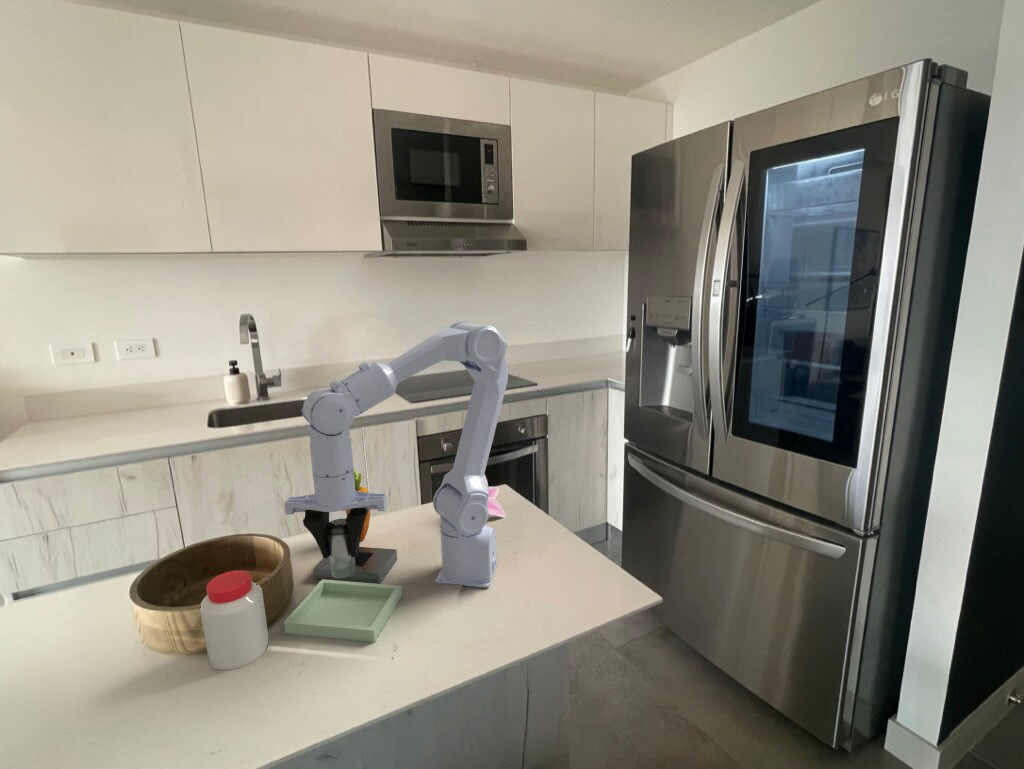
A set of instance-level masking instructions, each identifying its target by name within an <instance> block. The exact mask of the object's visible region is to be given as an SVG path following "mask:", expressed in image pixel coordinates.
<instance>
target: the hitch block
mask: <svg viewBox="0 0 1024 769" xmlns="http://www.w3.org/2000/svg"><path fill="white" fill-rule="evenodd" d="M397 551H398V550H397V549H396V548H381V547H367V546H359V552H358V554H357V556H356V557H355V566H356V571H355V573H354V574H353V575H351V576H349V577H346V578H334V577H333V576H332V575H331V565H330V555H329V557H328V558H323V557H322V558H321V560H320V561H319V562H318V563H317V564H316V565H315V566H314V567H313V568H312V570H313V580H314V581H321V580H322V579H324V580H336V581H349V582H361V583H373V584H383V581H385V578H386V577H387V576H388V574H389V573H390V571H391V570H392V568H393V567H394V566H395V564H396V562H397V561H398V552H397Z"/></svg>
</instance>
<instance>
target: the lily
mask: <svg viewBox="0 0 1024 769" xmlns="http://www.w3.org/2000/svg"><path fill="white" fill-rule="evenodd" d="M484 481H485V484H486V487H487V489H488V493H489V496H488V501H487V506H488V513H489V514H490V515H493V516H496V517H500V518H506V517H507V514H506V512H505V511H504V508H503V507H502V505H501V504H500V503H499V501H498V500H496V497H497V496H498V494H499V492H500V487H498V486H489V484H488V479H487V476H486V474H485V473H484ZM489 514H488V515H489Z"/></svg>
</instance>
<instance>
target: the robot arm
mask: <svg viewBox="0 0 1024 769" xmlns="http://www.w3.org/2000/svg"><path fill="white" fill-rule="evenodd" d="M507 349H508V343H507V341H506V340H505V339H504V337H503V336H502V333H501V332H500V331H499V330H498V329H497V328H495V327H494V326H493V325H487V324H484V325H483V324H482V325H480V324H474V323H469V322H467V321H458V322H457V321H456V322H455V323H453V324H451V325H450V326H447V327H445V328H441V329H439V330H438V331H437V332H435V333H434V334H433V335H431V336H430V337H429V338H427V339H425V340H423V341H422V342H420V343H419V344H417V345H416V346H414V347H412V348H410V349H409V350H407V351H405V352H404V353H402V354H401V355H399V356H398V357H396V358H394V359H393V360H391V361H389V362H388V363H387V364H384V363H383V364H382V363H379V362H376V361H373V362H371V363H370V364H369V363H368V362H363V363H361V364H359V365H357V367H358V370H357V371H355V372H353V373H351V374H350V375H347V376H345V377H344V378H343V379H341V380H339V381H337V380H336V379H334V380H332V381H331V382H329V386H330V388H327V387H326V388H323V387H322V388H318V389H315V390H313V391H311V392H310V393H309V394H308V395H307V396H306V397H307V398H306V399H304V402H303V406H302V408H301V409H300V410H301V415H302V416H303V419H305V421H307V423H309V425H308V436H309V452H310V459H311V461H310V462H311V470H312V479H313V487H314V493H313V494H311V493H310V494H307V495H301V496H299V495H298V496H291V497H290V496H289V497H287V499H286V500H285V501H284V511H285V512H284V513H285V515H286V516H288V515H289V516H291V515H294V514H295V513H304V518H303V520H302V523H303V526H304V528H306V529H307V531H309V533H310V534H311V535H312V537H313V539H314V540H315V542H316V544H317V546H318V548H319V551H320V553H321V556H322V559H323V558H328V557H329V544H328V534H327V524H328V523H329V522H330V513H333V512H340V511H341V512H343V511H345V512H346V511H347V510H350V513H349V514H348V516H347V515H346V517H345V519H346V524H347V527H348V532H349V537H350V552H351V557H356V556H357V554H358V552H359V547H360V545H361V544H360V543H361V542H360V537H361V532H362V529H363V525H364V522H365V519H366V516H367V514H368V511H369V510H370V511H371V510H377V512H385V511H386V509H387V507H388V501H387V500H388V499H387V494H386V493H374V492H371V493H370V492H369V493H366V492H358V491H355V480H354V459H353V449H352V448H353V447H352V438H351V435H350V433H351V432H350V428H351V426H352V424H353V422H354V419H355V417H358V416H361V415H362V414H364V413H365V412H367V411H369V410H370V409H372V408H374V407H375V406H377V405H379V404H380V403H382V402H384V401H386V400H387V399H390V398H391V397H393V396H394V395H395V393H396V391H397V390H396V389H397V387H398V384H399V383H401V382H403V381H406V380H407V379H409V378H411V377H413V376H414V375H417V374H419V373H420V372H422V371H424V370H427V369H428V368H430V367H432V366H434V365H436V364H438V363H441V362H443V361H448V362H459V363H460V364H461V365H463V366H464V368H465V369H466V370H467V372H468V374H469V376H470V377H471V378H472V379H473V381H474V382H473V386H472V390H471V394H470V398H469V403H468V407H467V411H466V415H465V419H464V423H463V427H462V431H461V435H460V439H459V442H458V446H457V450H456V451H457V452H456V454H455V459H454V462H453V467H452V469H451V470H450V471H449V472H447V473H445V474H444V475H443V479H442V482H441V484H440V487H438V489H437V490H436V491H435V494H434V495H433V498H432V499H433V500H432V505H433V509H434V511H435V512H436V513H437V514H438V516H440V517H439V518H440V523H439V529H440V530H439V532H440V550H441V568H440V570H439V572H438V574H437V576H436V577H435V581H434V582H435V583H439V584H449V585H450V584H451V585H460V586H461V585H462V587H474V588H487V589H488V588H490V586H491V584H492V580H493V578H494V574H495V572H496V568H497V567H498V566H497V565H498V561H497V535H496V534H497V533H496V528H495V527H490V526H488V525H486V524H487V522H488V519H489V513H488V506H487V501H488V496H489V493H488V489H487V487H486V484H485V481H484V474H485V472H486V468H487V466H488V465H487V464H488V460H489V456H490V452H491V450H492V449H491V448H492V444H493V441H494V438H495V437H494V436H495V433H496V429H497V424H498V420H499V417H500V412H501V409H502V405H503V400H504V396H505V392H506V390H507V384H508V381H509V372H508V367H507V359H506V353H507Z"/></svg>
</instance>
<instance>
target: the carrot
mask: <svg viewBox="0 0 1024 769" xmlns="http://www.w3.org/2000/svg"><path fill="white" fill-rule="evenodd" d="M353 469H354V468H353ZM362 475H363V474H362V473H361V472H358V474H357V471H356V469H354V480H355V491H358V492H366V493H370V492H369V490H368V488H367V487H364V486H361V482H362ZM349 513H350V510H347V511H345V514H346V517H347V516H348V514H349ZM370 519H371V510H369V511H368V514H367V516H366V519H365V522H364V525H363V529H362V532H361V537H360V543H361V542H364V540H365V539H366V536H367V534H368V530H369V528H370V527H369V526H370Z"/></svg>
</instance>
